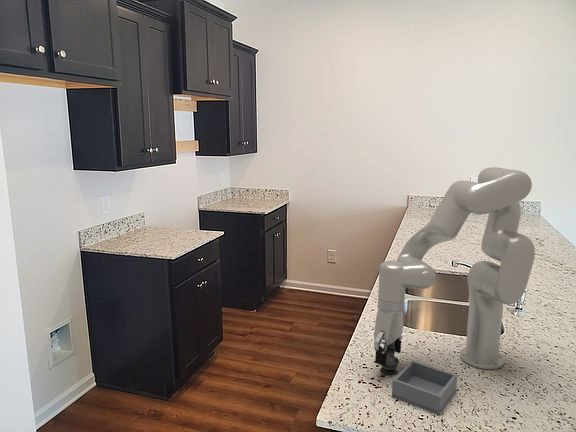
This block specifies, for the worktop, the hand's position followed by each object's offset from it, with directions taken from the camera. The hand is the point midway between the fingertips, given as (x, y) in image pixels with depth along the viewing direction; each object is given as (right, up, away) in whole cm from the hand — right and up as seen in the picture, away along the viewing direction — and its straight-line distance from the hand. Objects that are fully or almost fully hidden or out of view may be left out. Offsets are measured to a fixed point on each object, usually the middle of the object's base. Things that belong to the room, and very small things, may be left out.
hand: (388, 357), depth 134 cm
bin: (+7, -7, -11) cm, 15 cm away
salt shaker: (0, -5, +1) cm, 5 cm away
